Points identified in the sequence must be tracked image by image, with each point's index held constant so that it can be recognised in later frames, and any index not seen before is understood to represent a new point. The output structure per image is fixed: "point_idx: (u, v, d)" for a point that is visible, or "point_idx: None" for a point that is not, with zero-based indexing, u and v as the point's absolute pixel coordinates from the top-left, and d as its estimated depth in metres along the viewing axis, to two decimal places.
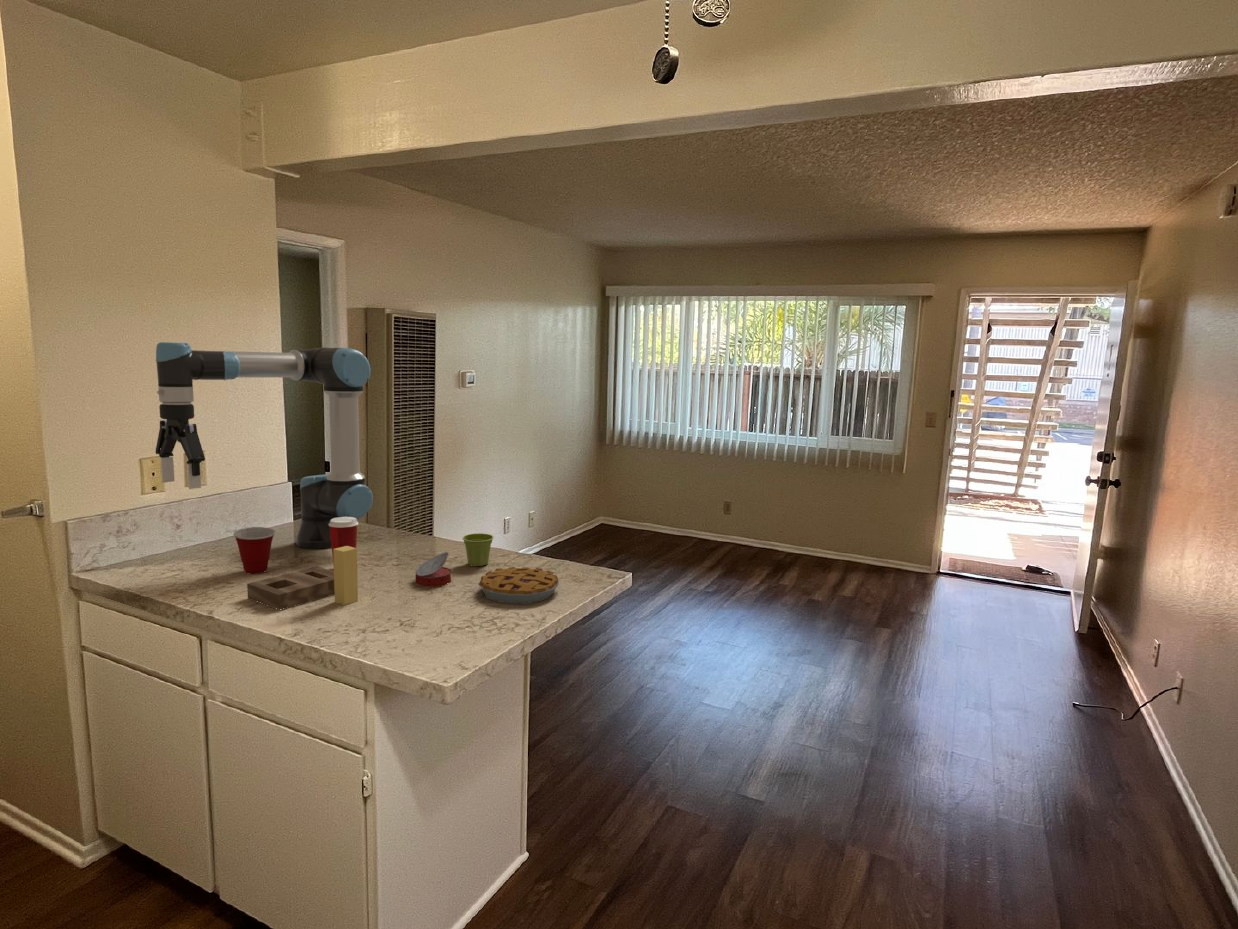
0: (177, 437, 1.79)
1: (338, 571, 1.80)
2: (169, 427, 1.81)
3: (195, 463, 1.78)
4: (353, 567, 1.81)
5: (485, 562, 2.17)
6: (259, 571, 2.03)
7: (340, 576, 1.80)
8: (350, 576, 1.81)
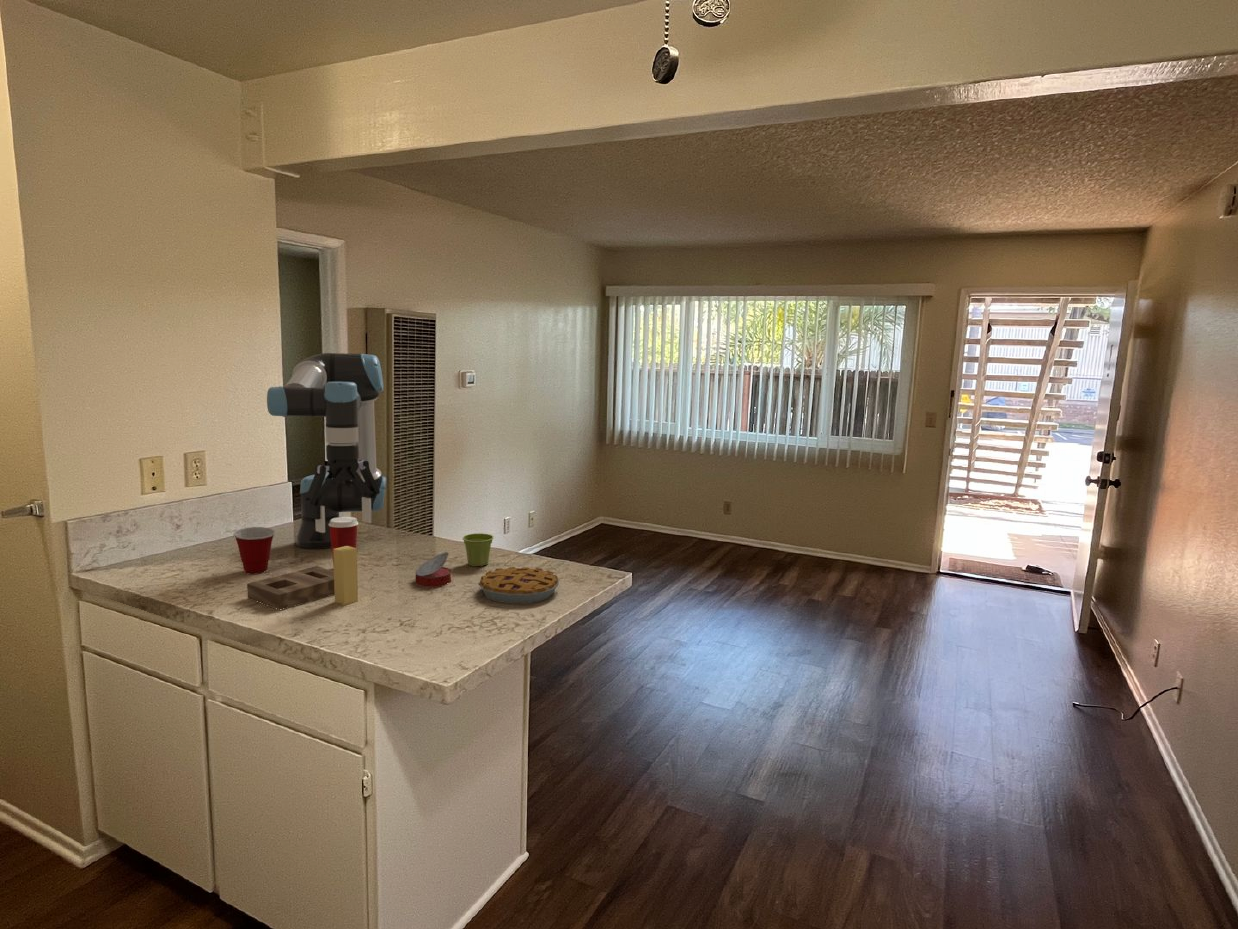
0: None
1: (338, 571, 1.80)
2: None
3: (312, 506, 1.72)
4: (353, 567, 1.81)
5: (485, 562, 2.17)
6: (259, 571, 2.03)
7: (340, 576, 1.80)
8: (350, 576, 1.81)
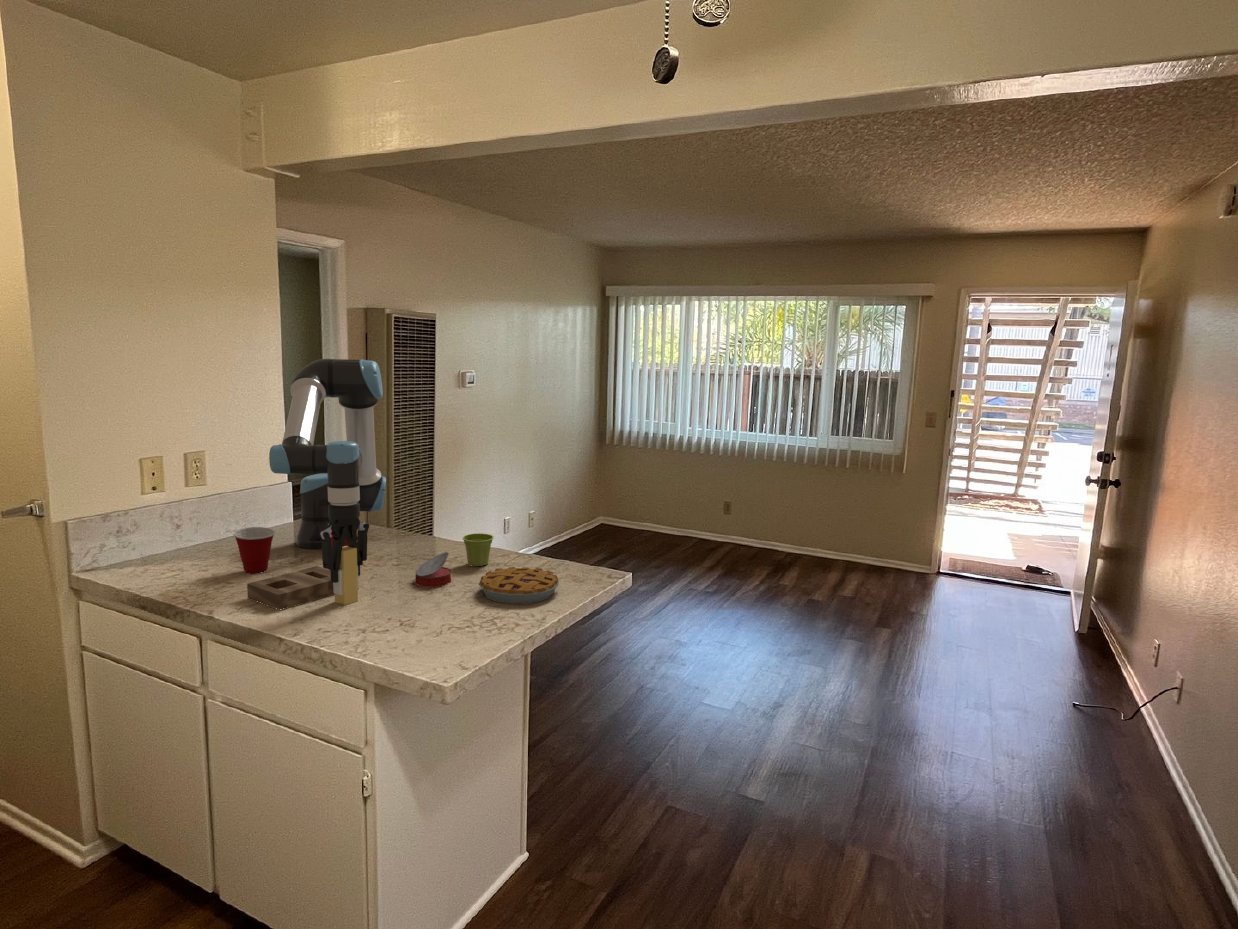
0: None
1: None
2: None
3: (330, 570, 1.78)
4: (353, 567, 1.81)
5: (485, 562, 2.17)
6: (259, 571, 2.03)
7: None
8: (350, 576, 1.81)
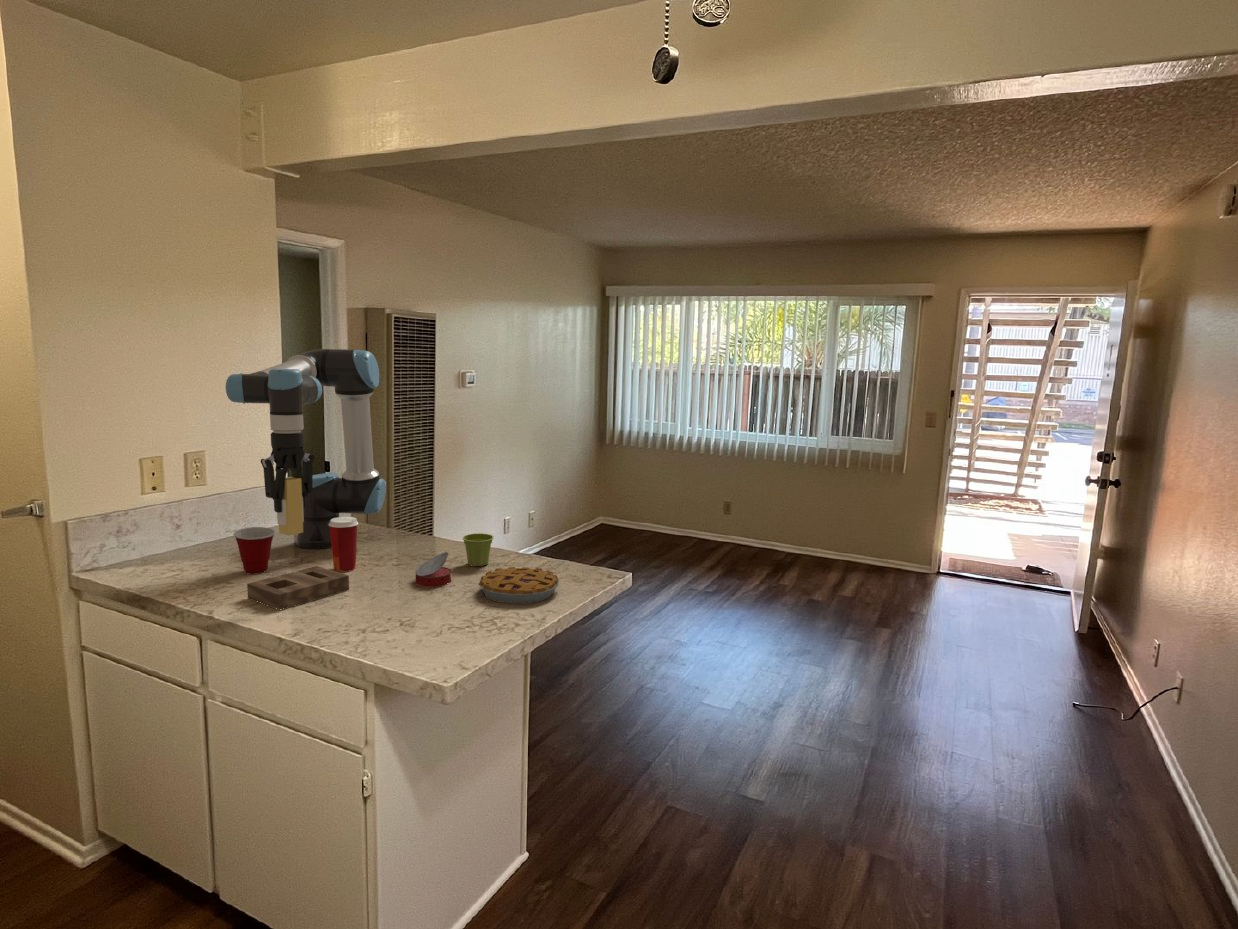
0: None
1: None
2: None
3: (273, 499, 1.76)
4: (298, 497, 1.79)
5: (485, 562, 2.17)
6: (259, 571, 2.03)
7: None
8: (295, 507, 1.78)
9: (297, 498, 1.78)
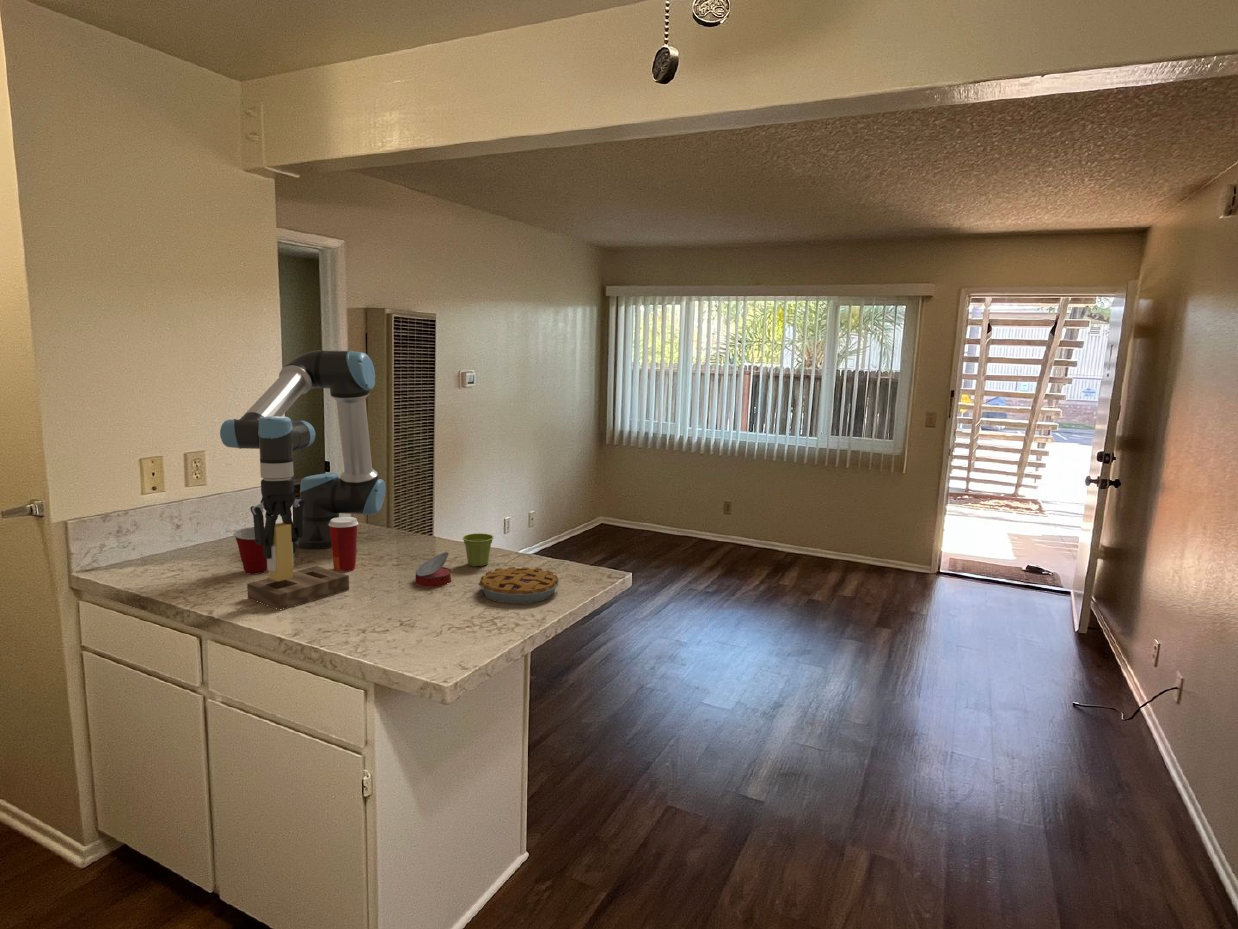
0: None
1: None
2: None
3: (263, 546, 1.77)
4: (287, 543, 1.80)
5: (485, 562, 2.17)
6: (259, 571, 2.03)
7: None
8: (284, 553, 1.80)
9: (287, 544, 1.80)
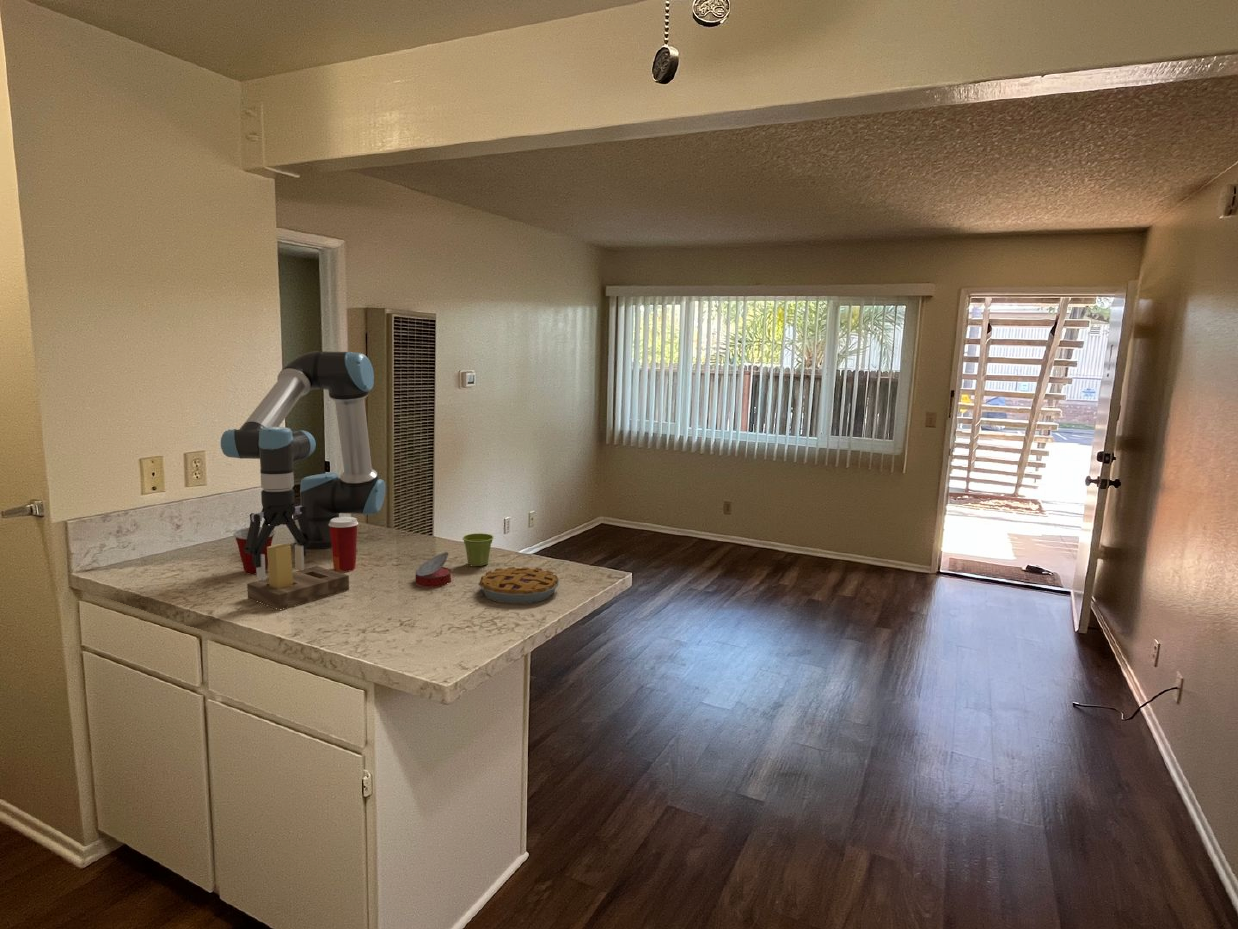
0: None
1: (272, 569, 1.80)
2: None
3: (252, 554, 1.75)
4: (287, 565, 1.81)
5: (485, 562, 2.17)
6: None
7: (274, 574, 1.79)
8: (284, 574, 1.80)
9: (287, 565, 1.81)
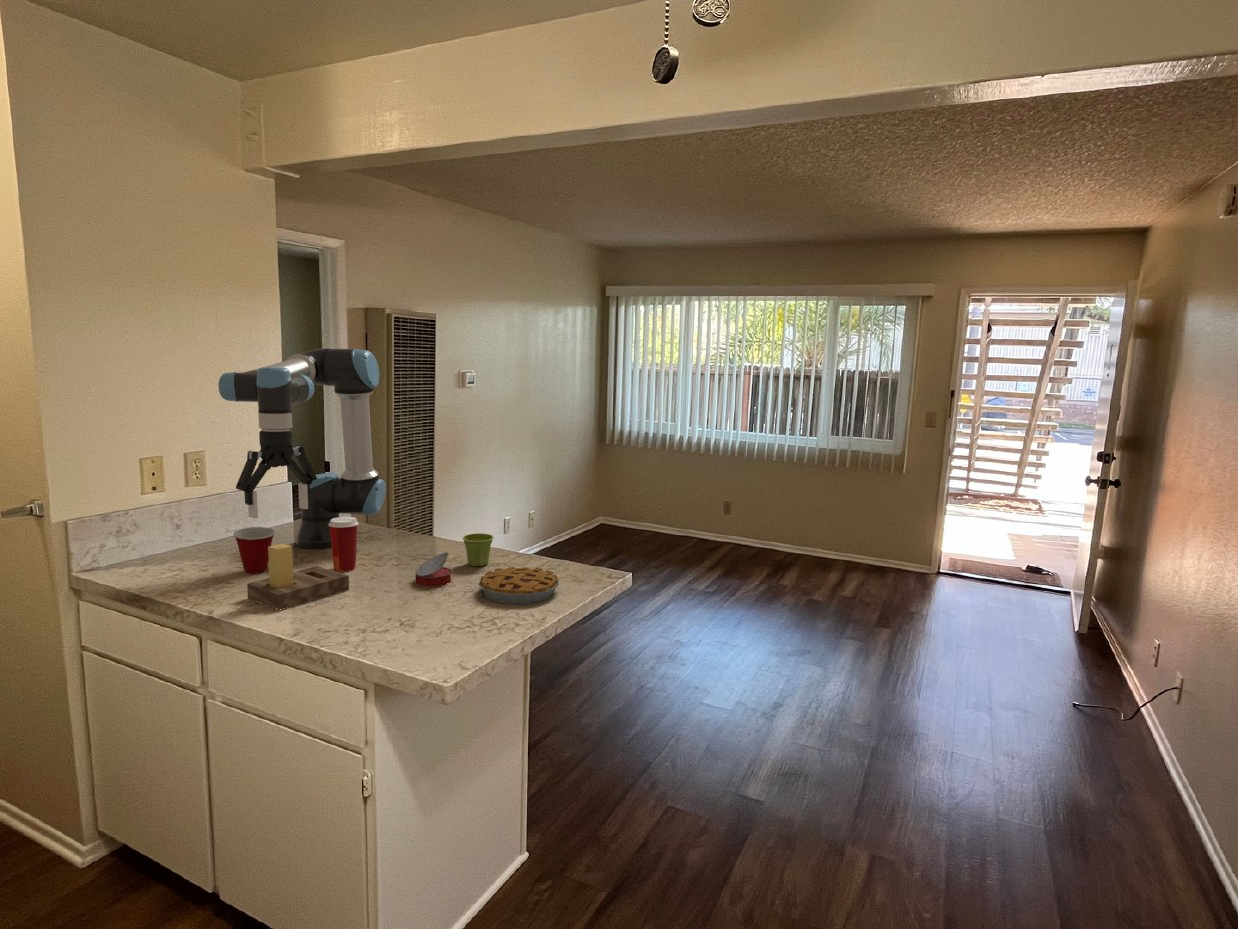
0: None
1: (273, 569, 1.80)
2: None
3: (244, 491, 1.72)
4: (288, 565, 1.81)
5: (485, 562, 2.17)
6: (259, 571, 2.03)
7: (275, 573, 1.80)
8: (285, 574, 1.81)
9: (288, 565, 1.81)
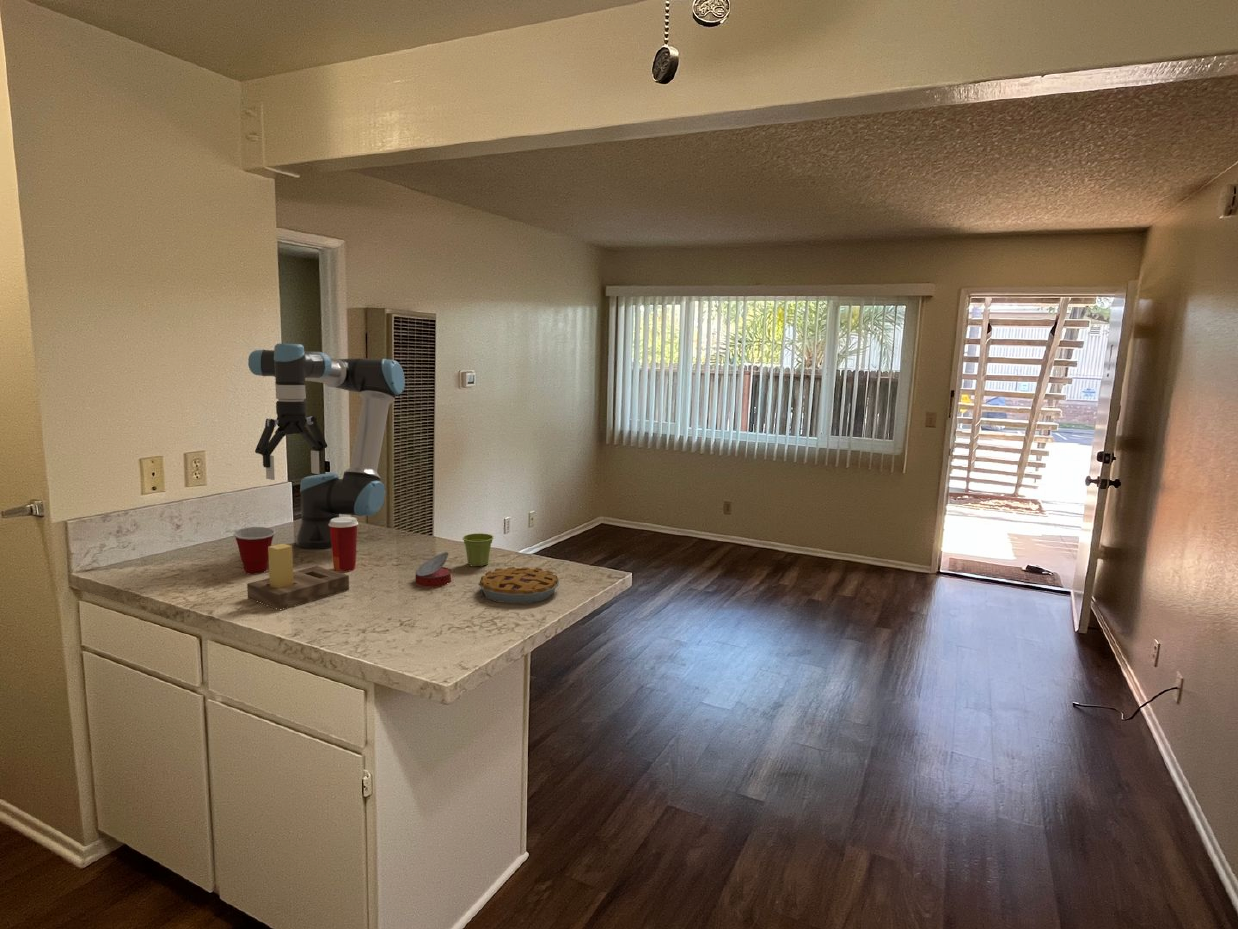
0: None
1: (273, 569, 1.80)
2: None
3: (262, 455, 1.90)
4: (288, 565, 1.81)
5: (485, 562, 2.17)
6: (259, 571, 2.03)
7: (275, 573, 1.80)
8: (285, 574, 1.81)
9: (288, 566, 1.81)
